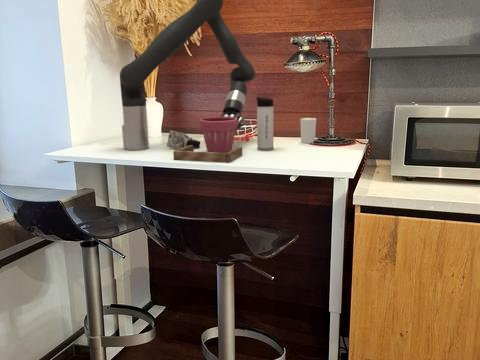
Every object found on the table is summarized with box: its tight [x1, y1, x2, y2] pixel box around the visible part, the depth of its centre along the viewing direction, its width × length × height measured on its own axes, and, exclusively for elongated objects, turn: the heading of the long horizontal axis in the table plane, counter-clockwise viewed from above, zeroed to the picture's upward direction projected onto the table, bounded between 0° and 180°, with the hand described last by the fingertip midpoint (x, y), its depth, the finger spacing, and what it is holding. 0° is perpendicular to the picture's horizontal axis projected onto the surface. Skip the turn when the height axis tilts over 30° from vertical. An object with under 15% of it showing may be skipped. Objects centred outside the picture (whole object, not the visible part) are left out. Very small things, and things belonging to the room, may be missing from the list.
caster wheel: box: [166, 130, 201, 150], centre depth 182 cm, size 7×11×10 cm
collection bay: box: [172, 145, 243, 164], centre depth 162 cm, size 21×14×3 cm, turn 71°
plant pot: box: [199, 116, 238, 153], centre depth 171 cm, size 14×14×13 cm
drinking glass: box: [300, 117, 317, 145], centre depth 189 cm, size 7×7×10 cm
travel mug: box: [255, 96, 274, 152], centre depth 174 cm, size 6×7×20 cm
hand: (224, 138), depth 176 cm, fingers closed
